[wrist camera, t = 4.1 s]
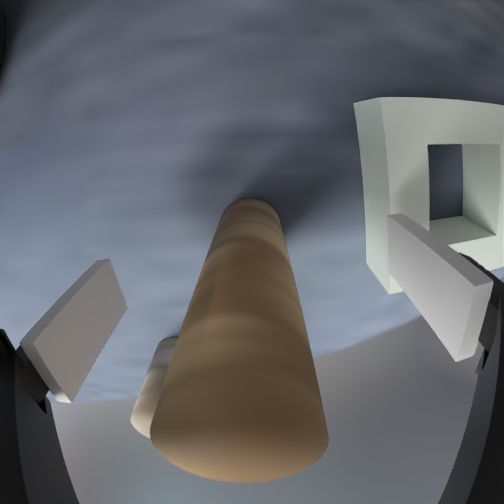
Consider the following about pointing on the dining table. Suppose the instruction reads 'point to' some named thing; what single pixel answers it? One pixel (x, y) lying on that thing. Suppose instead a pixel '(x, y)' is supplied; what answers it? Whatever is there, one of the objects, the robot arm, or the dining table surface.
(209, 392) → the long pin
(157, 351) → the short pin
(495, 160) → the hole block
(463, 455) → the robot arm
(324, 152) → the dining table surface
